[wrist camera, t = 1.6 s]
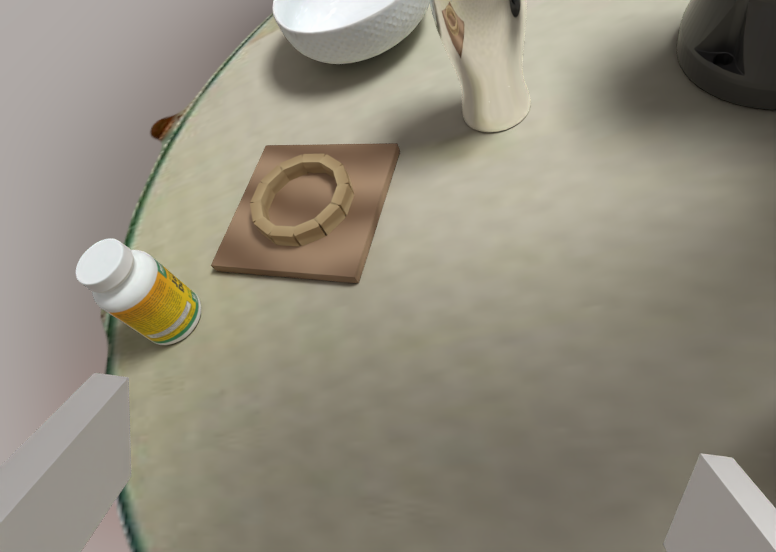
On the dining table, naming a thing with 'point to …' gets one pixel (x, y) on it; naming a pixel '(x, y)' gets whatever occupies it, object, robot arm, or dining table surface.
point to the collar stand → (309, 212)
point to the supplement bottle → (139, 291)
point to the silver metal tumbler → (486, 58)
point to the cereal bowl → (347, 26)
